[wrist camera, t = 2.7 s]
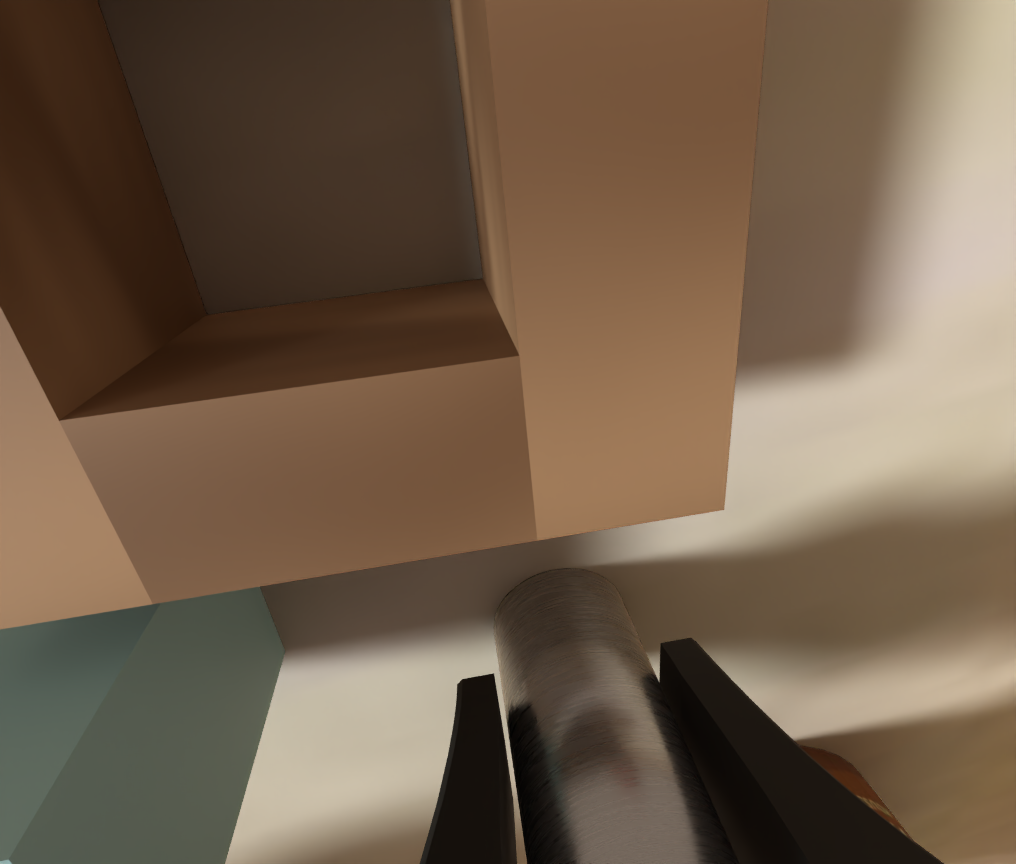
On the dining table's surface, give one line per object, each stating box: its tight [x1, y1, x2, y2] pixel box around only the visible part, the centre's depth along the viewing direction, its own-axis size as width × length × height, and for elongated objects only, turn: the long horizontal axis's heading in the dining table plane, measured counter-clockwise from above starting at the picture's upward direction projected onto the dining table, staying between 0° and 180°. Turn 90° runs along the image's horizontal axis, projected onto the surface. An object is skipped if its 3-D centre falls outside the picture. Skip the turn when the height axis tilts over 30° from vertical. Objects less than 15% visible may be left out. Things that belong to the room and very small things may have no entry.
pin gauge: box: [494, 569, 740, 864], centre depth 10 cm, size 3×3×7 cm
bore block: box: [0, 0, 768, 629], centre depth 6 cm, size 9×9×4 cm
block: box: [0, 587, 285, 864], centre depth 8 cm, size 4×4×6 cm
